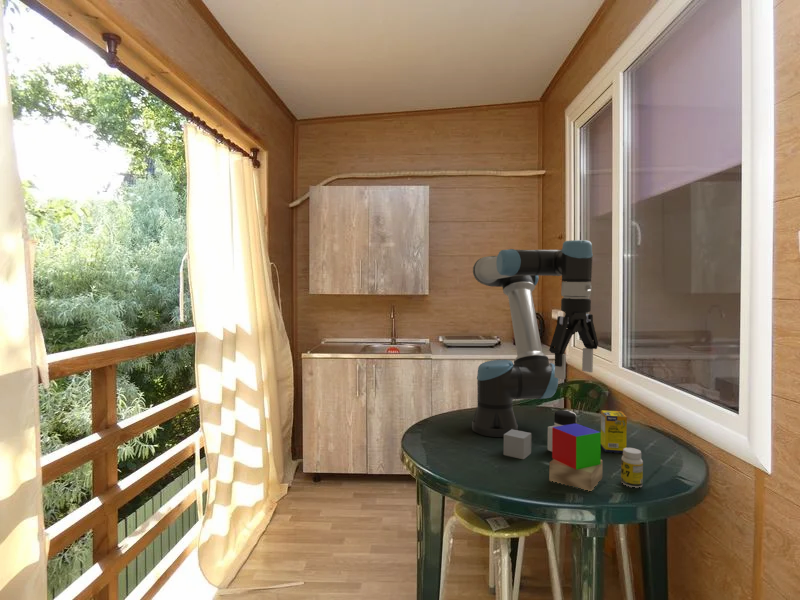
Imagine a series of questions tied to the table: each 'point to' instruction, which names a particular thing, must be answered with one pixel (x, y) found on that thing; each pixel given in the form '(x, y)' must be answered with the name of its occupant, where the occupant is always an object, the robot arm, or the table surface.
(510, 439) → the grey block
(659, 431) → the table surface
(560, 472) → the oak block
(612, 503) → the table surface
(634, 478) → the supplement bottle
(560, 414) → the medicine bottle
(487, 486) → the table surface
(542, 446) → the table surface
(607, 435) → the supplement box
